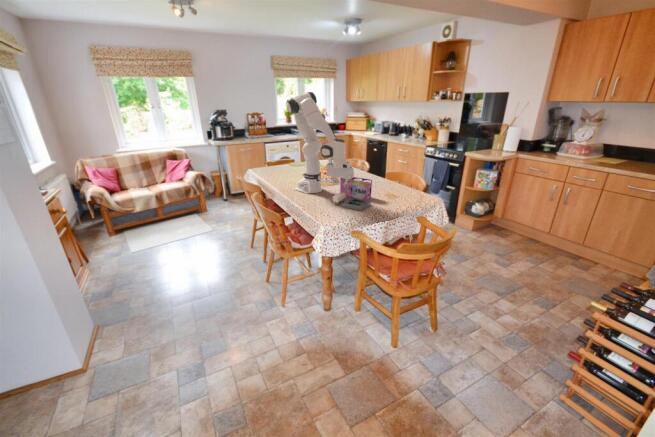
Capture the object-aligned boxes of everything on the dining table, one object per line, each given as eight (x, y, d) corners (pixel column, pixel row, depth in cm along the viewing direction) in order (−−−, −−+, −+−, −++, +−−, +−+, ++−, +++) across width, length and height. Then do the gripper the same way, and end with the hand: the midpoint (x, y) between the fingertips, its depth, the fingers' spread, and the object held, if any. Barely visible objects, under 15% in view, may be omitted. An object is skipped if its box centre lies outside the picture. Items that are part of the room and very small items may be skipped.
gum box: (372, 197, 219) (374, 180, 214) (368, 200, 213) (369, 182, 208) (344, 192, 231) (345, 175, 226) (339, 195, 225) (340, 177, 219)
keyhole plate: (342, 207, 201) (343, 203, 200) (352, 201, 212) (352, 197, 211) (361, 211, 194) (361, 207, 193) (370, 204, 205) (370, 201, 204)
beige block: (332, 204, 207) (332, 195, 204) (340, 199, 215) (340, 191, 213) (337, 205, 205) (337, 196, 202) (345, 200, 213) (345, 192, 211)
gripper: (324, 163, 202) (324, 182, 207) (350, 166, 191) (350, 186, 197) (329, 161, 206) (329, 180, 212) (355, 164, 196) (355, 184, 202)
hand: (339, 183), depth 204 cm, fingers open, 8 cm apart
